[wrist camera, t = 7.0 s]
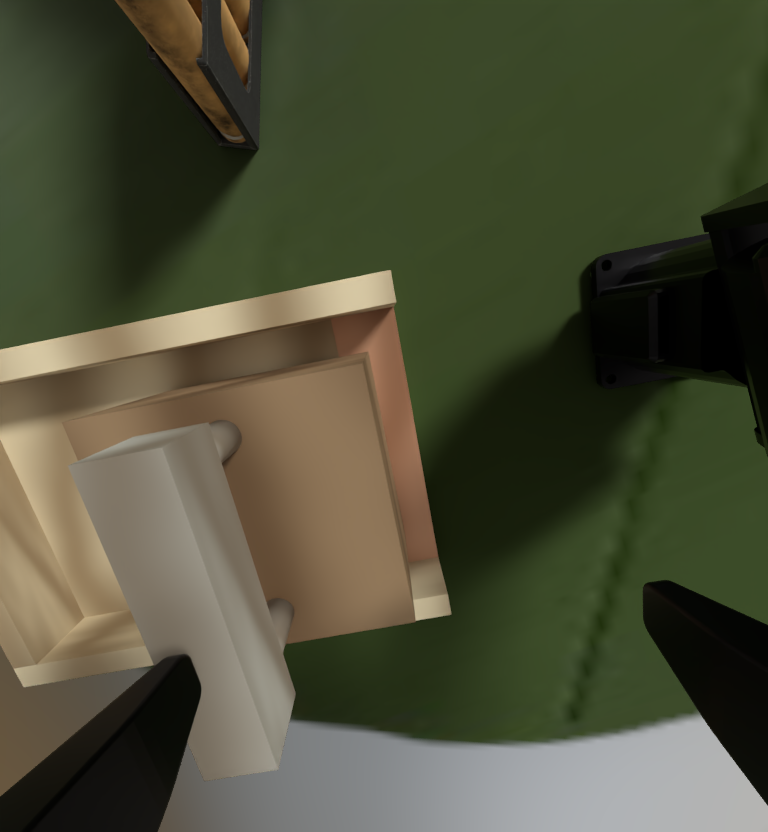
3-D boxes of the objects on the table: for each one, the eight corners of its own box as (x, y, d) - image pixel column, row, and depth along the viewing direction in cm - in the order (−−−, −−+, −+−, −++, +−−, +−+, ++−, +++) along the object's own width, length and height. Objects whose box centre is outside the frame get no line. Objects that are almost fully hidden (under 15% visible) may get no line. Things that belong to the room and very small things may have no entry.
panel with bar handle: (368, 351, 17) (351, 385, 7) (405, 534, 20) (432, 759, 9) (167, 391, 17) (-130, 478, 7) (227, 565, 20) (66, 817, 10)
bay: (388, 282, 18) (390, 270, 14) (438, 562, 21) (451, 614, 17) (-35, 368, 18) (-147, 379, 14) (86, 624, 22) (23, 687, 18)
